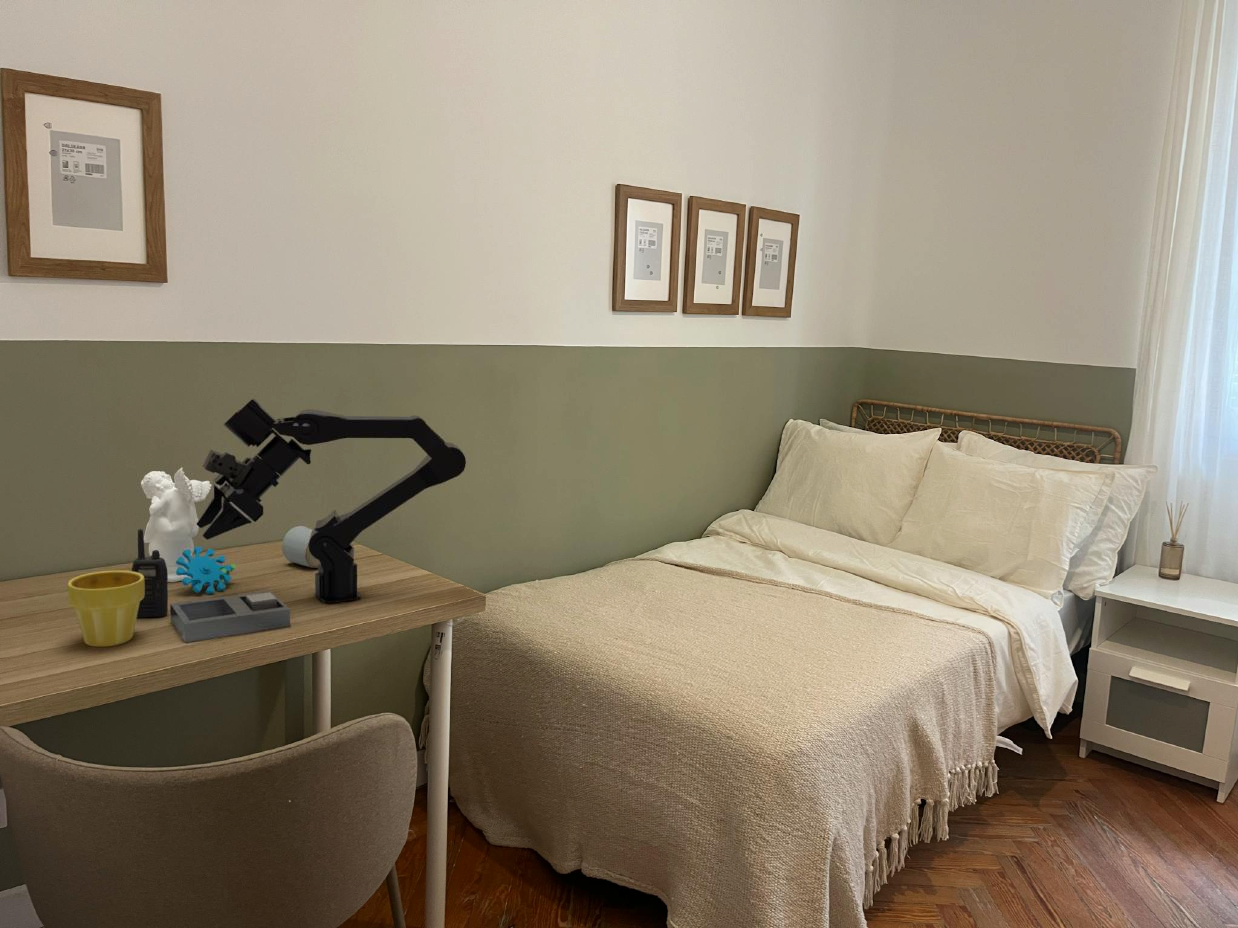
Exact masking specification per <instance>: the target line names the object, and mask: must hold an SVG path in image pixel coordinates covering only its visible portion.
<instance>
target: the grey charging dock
mask: <svg viewBox="0 0 1238 928" xmlns="http://www.w3.org/2000/svg"><path fill="white" fill-rule="evenodd" d="M269 592H270V593H271V594H273V595H274V596H275V597H276V598H277V608H274V609H267V610H260V611H252V610H251V609H250V608H249V607H248V606H247V605H246V595H254V594H261V593H269ZM169 605H170V606H169V607H170V608H169V609H170V622H171V624H172V625H173V626H174V628H175V629H176V631H177V632H178V634H179V636H180V637H181V638H182V641H184V643H192V642H200V641H204V640H205V641H207V640H211V639H218V638H219V639H220V638H224V637H230V635H231V636H236V635H237V636H239V635H243V634H242V633H245V634H250V633H251V634H252V633H256V632H263V631H262V630H265V631H269V629H271V630H276V629H282V628H283V627H284V628H291V609H290V608H289V606H288V605H286V604H285V603H284V602H283V601H282V600H281V599H280V598H279V597H278V596H276V594H275V593H273V591H272V590H264V591H256V592H247V593H242V594H241V593H240V594H234V595H233V594H232V595H227V596H226V595H225V596H218V597H217V596H216V597H210V598H202V599H193V600H185V601H180V602H171V603H169ZM284 628H283V629H284Z"/></svg>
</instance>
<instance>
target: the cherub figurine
mask: <svg viewBox="0 0 1238 928" xmlns="http://www.w3.org/2000/svg"><path fill="white" fill-rule="evenodd" d="M173 479H174V482H173V480H172V476H171V475H170V474H167V473H166V472H165V471H160V470H159V471H157V470H155V471H154V470H153V471H150V472H148V473H147V474H145V475H144V477H143V479H142V480H141V481H140V486H141V488H142V491H143V493H144V494H145V495H146V496H145V497H146V499H150V501H151V504H150V506H149V508H148V509H149V515H150V517H149V519H148V522H147V524H146V527H145V532H144V534H143V537H144V544H146V543H149V544H148V555H149V557H150V556H152V551H154V550H158V551H159V554H160V557H161V558H163V559H164V560H165V563H166V567H167V572H168V580H167V583H176V582H180V581H181V582H182V580H183V578H184V577H188V578H191V577H190V576H187V575H176V570H177V569H178V567H182V568H183V569H184V570H186V571H188V570H187V569H186V568H185V567H183V566H181V565H178V564H176V561H177V560H178V558H179V557H183V558H184V560H185V562H186V563H189V562H188V560H187V559H186V558H185V557H184V556H183V555H182V553H183V551H185V550H191V555H190V556H191V557H192V556H193V554H194V549H195V545H194V540H193V537H196V536H197V535H198V533H199V530H200V529H199V528H200V527H199V526H197V522H198V520H199V518H198V515H197V508H196V505H195V503H198V502H200V503H201V502H203V501H205V500H206V497H207V496H208V495H209V493H210V490H211V489H212V484H211V482H210V481H209V480H205V481H201V480H198V479H197V480H196V479H191V480H190V479H189V478H188V476H186V475H185V471H183V467H181V468H179V469H178V470H177V471H176V472H175V473H174V476H173ZM192 558H193V557H192Z"/></svg>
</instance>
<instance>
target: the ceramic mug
mask: <svg viewBox="0 0 1238 928" xmlns="http://www.w3.org/2000/svg"><path fill="white" fill-rule="evenodd" d="M312 530H313V528H310V527H307V526H304V525H298V526H297V525H296V526H294V527H292V528H291V529H289V530H288V532H286V534H285V535H284V538H283V539H282V543H281V550H282V554H283V556H284V558H285V559H286V560H287V561H288V562H290V563H293V564H297V565H300V566H304V567H308V568H311V569H313V568H314V569H318V564H321V563H320V561H319V560H318V559H316V558H314V557H313V556H312V555H311V553H310V551H309V546H308V545H309V540H310V536H311V532H312Z"/></svg>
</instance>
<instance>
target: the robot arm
mask: <svg viewBox="0 0 1238 928" xmlns="http://www.w3.org/2000/svg"><path fill="white" fill-rule="evenodd" d="M223 426H224V427H225V428H226V429H227V430H228V431H229V433H231V434H232V435H234V436H235V437H236V438H237V439H238V440H239V441H241V442H242V443H243V444H244V445H245V447H247V448H249V447H251V446H252V447H256V448H258V447H260V446H261V445H262V444H263V443H264V442H265V441H266V440H267V439H268V438H269V437H270V436H271V435H274V436H273V437H272V438H271V439H270V440H269V441H268V442H267V443H266V444H265V445H264V446H263V447H262V448H261V449H260V450H259V451H258V452H257V453H256V454H255V455H254V456H253V457H250V456H249V457H246V458H245V459H243V461H240V460H238V459H236V456H235V455H234V454H231V453H229V452H226V451H225V452H223V453H220V452H219V451H215V450H212V449H210V450H209V452H208V454H207V456H206V458H205V460H204V463H203V465H202V467H203V468H204V470H206V471H207V472H210V473H212V474H215V473H216V474H218V475H217V476H215V478H214V479H213V483H212V484H211V485H212V486H211V488H212V498H211V499H210V501H209V503H208V505H206V508H205V509H204V511H203V513H202V514H201V516H200V517H199V518H198V522H197V526H199V528H200V529H203V528H204V527H206V526H208V527H207V528H206V529H205V531H204V532H203V533H202V538H204V539H206V541H207V540H211V539H213V538H215V537H218V536H220V535H222V534H225V533H226V532H229V531H232V530H235V529H237V528H240V527H242V526H245V525H248V524H251V523H252V522H255V523H256V522H257V521H258V520H259V519H260V518H261V517H262V516H264V505H263V504H262V503H261V502H262V499H261V498H262V496H264V495H265V493H266V492H268V491H269V490H270V489H271V488H272V487H274V488H276V487H277V486H278V485H279V484H280V482H279V480H280V479H281V477H283V476H284V475H285V474H286V472H288V471H289V470H290V469H291V468H292V467H293V466H294V465H295V464H296V463H297V462H298V461H299V460H301V461H303V462H304V463H305V464H306V465H310V464H312V463H311V462H312V461H311V454H312V449H310V448H308V449H307V448H306V449H304V448H303V447H302V446H301V445H300V444H302V445H306V446H311V445H317V444H325V443H328V442H329V443H330V442H333V441H339V440H342V439H412V440H413V441H414V442H415V443H416V444H417V445H418V446H419V447H420V448H421V450H423V451H424V453H426V456H425V457H423V459H422V460H421V461H420V463H418V465H417V466H416V467H415V468H414V469H413V470H411V471H410V472H408V473H407V474H406V475H404V476H402V477H401V478H399V479H397V480H396V481H394V482H393V483H392V484H390V485H389V486H387V487H386V488H384V489H382V490H381V491H379V492H378V493H377V494H376V495H374V496H372V497H371V498H369V499H367V500H366V501H365V502H363V503H362V504H360V505H359V506H358V507H356V508H354V509H353V510H352V511H349V512H346V513H344V514H341V515H339V514H338V512H337V510H336V509H334V510H333V511H331V512H330V513H329V514H328V515H327V516H326V517H325V518H323V519H319V520H317V521H316V524H315V526H314V527H313V528H312V532H311V536H310V540H309V545H308V546H309V551H310V553H311V555H312V556H313V557H314V558H316V559H318V560H319V561H320V563H321V564H318V568H317V572H316V573H315V574H314V579H315V580H314V581H315V582H314V583H315V584H314V589H315V590H314V591H315V592H314V595H315V596H316V597H317V598H318V599H319V600H321V601H322V602H323V603H324V604H334V603H340V602H347V601H355V600H360V599H361V597H362V596H361V595H360V594H359V593H358V564H357V563H356V562H354V561H355V547H354V546H353V545H351V544H352V543H353V542H354V541H355V540H356V539H357V537H358V536H359V535H360V534H361V533H362V532H363V531H365V530H366V529H368V528H369V527H370V526H373V524H375V523H377V522H378V521H380V520H381V519H382V518H384V517H386V516H387V515H388V514H390V513H392V512H393V511H394V510H396V509H397V508H399V507H401V506H402V505H403V504H405V503H406V502H408V501H409V500H411V499H413V498H414V497H415V496H417V495H419V494H420V493H422V492H423V491H424V490H426V489H429V488H432V487H434V486H438V485H441V484H443V483H445V482H447V481H448V482H449V481H450V480H452V479H455V478H457V477H458V476H461V474H463V472H464V471H465V469H466V464H467V462H466V461H467V460H466V457H465V454H464V453H463V451H462V450H461V448H460V447H459V446H458V445H457V444H454V443H453V442H448V441H447V442H446V441H445V440H444V439H443V438H442V437H441V436H440V435H439V434H438V433H437V432H436V431H435V430H434V429H432V427H430V426H429V424H427V422H426V420H425V419H424V418H423V417H421V416H420V415H410V416H373V415H371V416H370V415H369V416H368V415H367V416H360V415H358V416H357V415H355V416H353V415H352V416H351V415H343V414H338V413H333V412H329V411H323V410H318V409H312V408H309V409H307V408H306V409H302V410H301V411H299V412H298V413H297V414H295V416H289V417H280V418H276V419H275V417H273V416H272V415H271V414H270V413H269V412H268V411H267V410H266V409H265V408H263V406H262V405H261V403H260V402H259V401H258V400H256V399H255V398H252V399H250V400H249V401H248V402H247V403H246V404H245V405H244V406H243V407H242V408H240V409H239V410H238V409H237V411H236V412H235V413H233V415H232V416H231V417H229V419H228V420H226V421H225V422H224V423H223ZM282 436H287V437H291V438H290V439H289V440H286V439H284V438H283V437H282ZM296 441H297V442H296Z"/></svg>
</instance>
